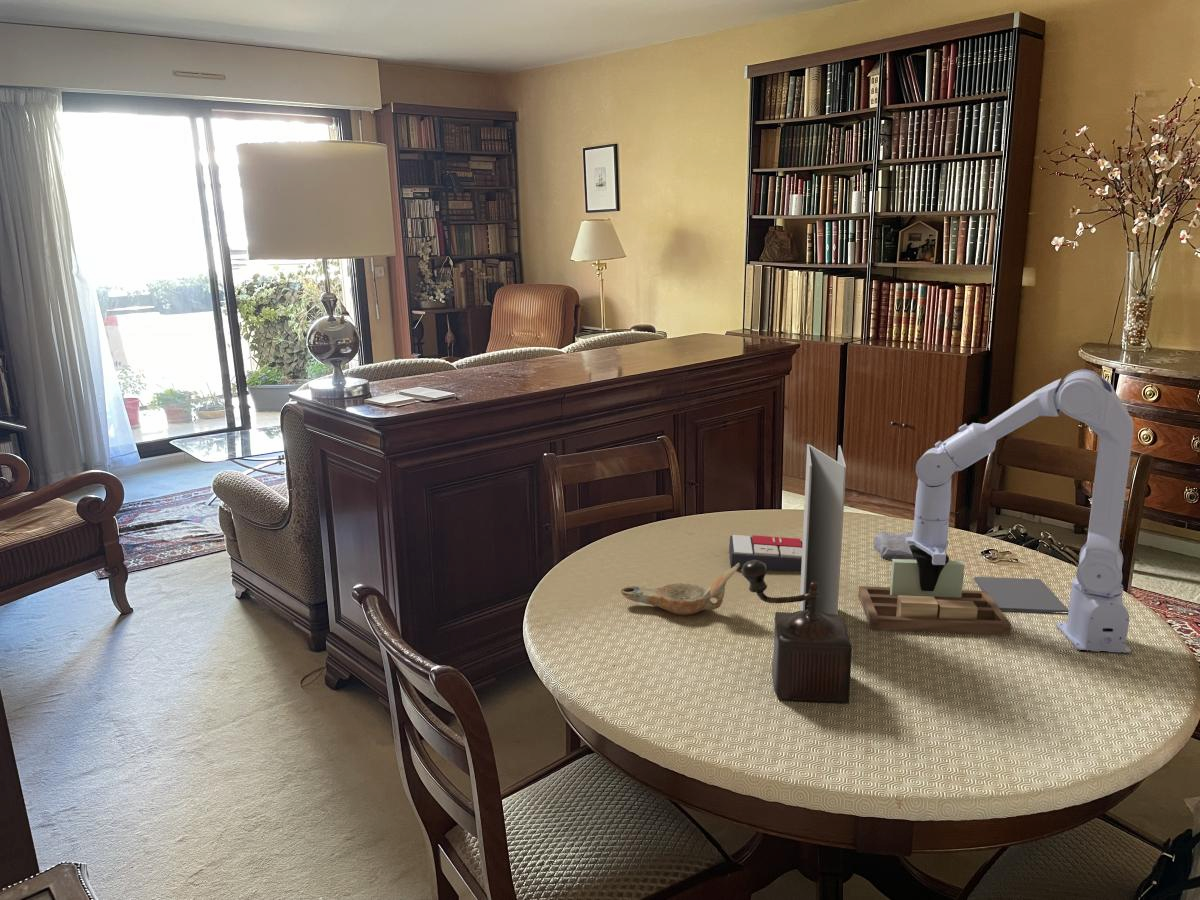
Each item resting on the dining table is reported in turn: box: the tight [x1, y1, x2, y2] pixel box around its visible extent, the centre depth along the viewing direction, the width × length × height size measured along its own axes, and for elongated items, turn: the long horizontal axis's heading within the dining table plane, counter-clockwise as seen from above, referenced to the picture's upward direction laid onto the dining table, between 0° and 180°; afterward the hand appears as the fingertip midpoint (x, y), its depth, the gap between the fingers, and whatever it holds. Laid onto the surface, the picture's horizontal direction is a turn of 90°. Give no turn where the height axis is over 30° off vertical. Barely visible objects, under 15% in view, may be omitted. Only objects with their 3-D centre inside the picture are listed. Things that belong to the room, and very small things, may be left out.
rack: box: [858, 585, 1012, 636], centre depth 150 cm, size 14×22×2 cm, turn 82°
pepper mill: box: [740, 560, 853, 704], centre depth 126 cm, size 16×11×18 cm
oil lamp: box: [620, 563, 740, 616], centre depth 153 cm, size 9×21×10 cm, turn 74°
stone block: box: [873, 530, 914, 560], centre depth 178 cm, size 12×5×10 cm
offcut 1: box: [896, 595, 938, 618], centre depth 147 cm, size 3×6×4 cm, turn 83°
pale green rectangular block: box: [890, 559, 966, 598], centre depth 154 cm, size 2×12×8 cm, turn 82°
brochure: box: [799, 443, 847, 615], centre depth 144 cm, size 14×6×30 cm, turn 168°
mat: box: [973, 576, 1069, 613], centre depth 157 cm, size 14×12×1 cm
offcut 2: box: [936, 600, 978, 620], centre depth 146 cm, size 3×6×4 cm, turn 82°
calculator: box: [728, 534, 803, 573], centre depth 176 cm, size 11×4×15 cm
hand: (925, 587), depth 154 cm, fingers closed on pale green rectangular block, 2 cm apart
